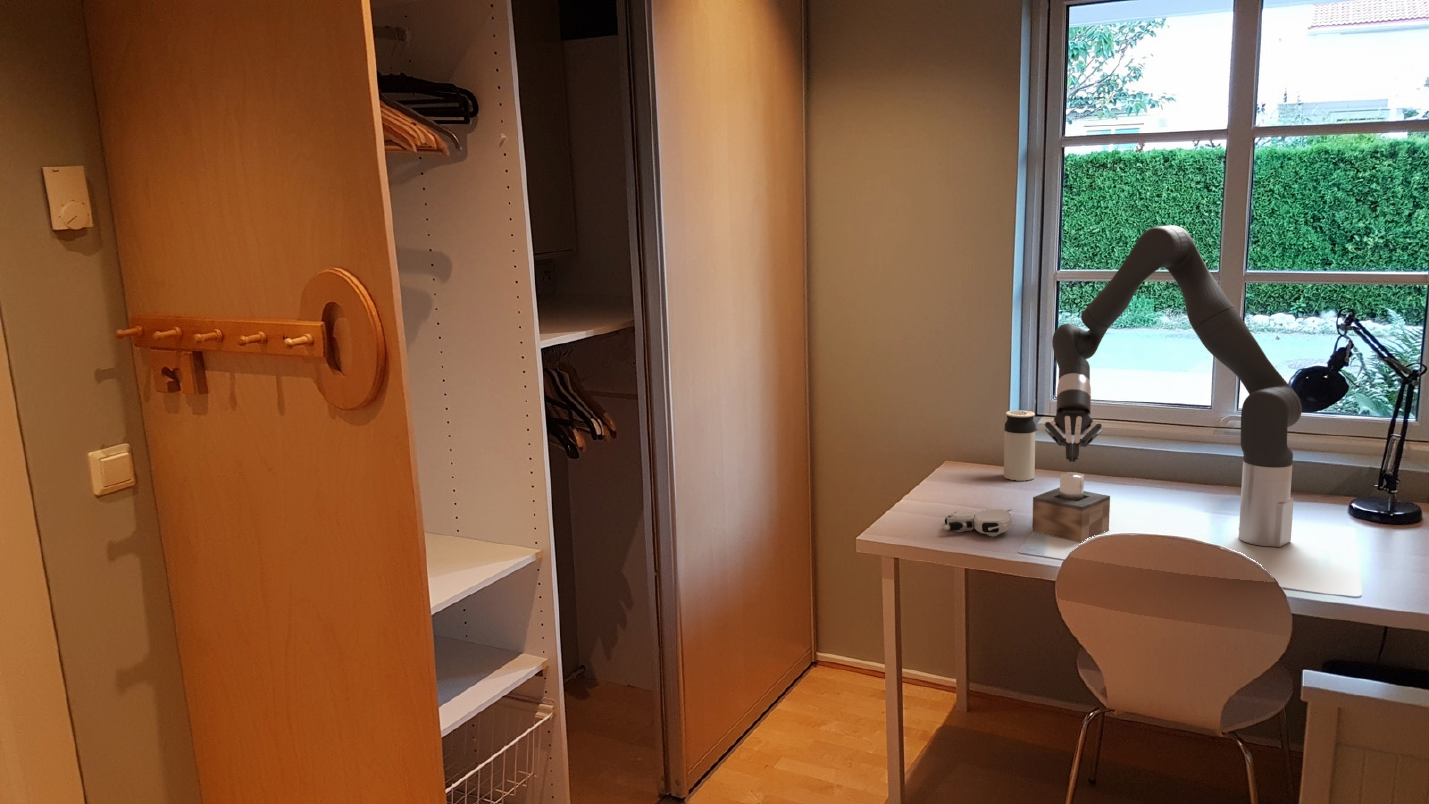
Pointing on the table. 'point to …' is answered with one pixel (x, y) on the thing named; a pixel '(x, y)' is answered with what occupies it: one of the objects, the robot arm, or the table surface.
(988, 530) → the robot toy
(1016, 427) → the travel mug
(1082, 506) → the band block
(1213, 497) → the table surface
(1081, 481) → the peg
